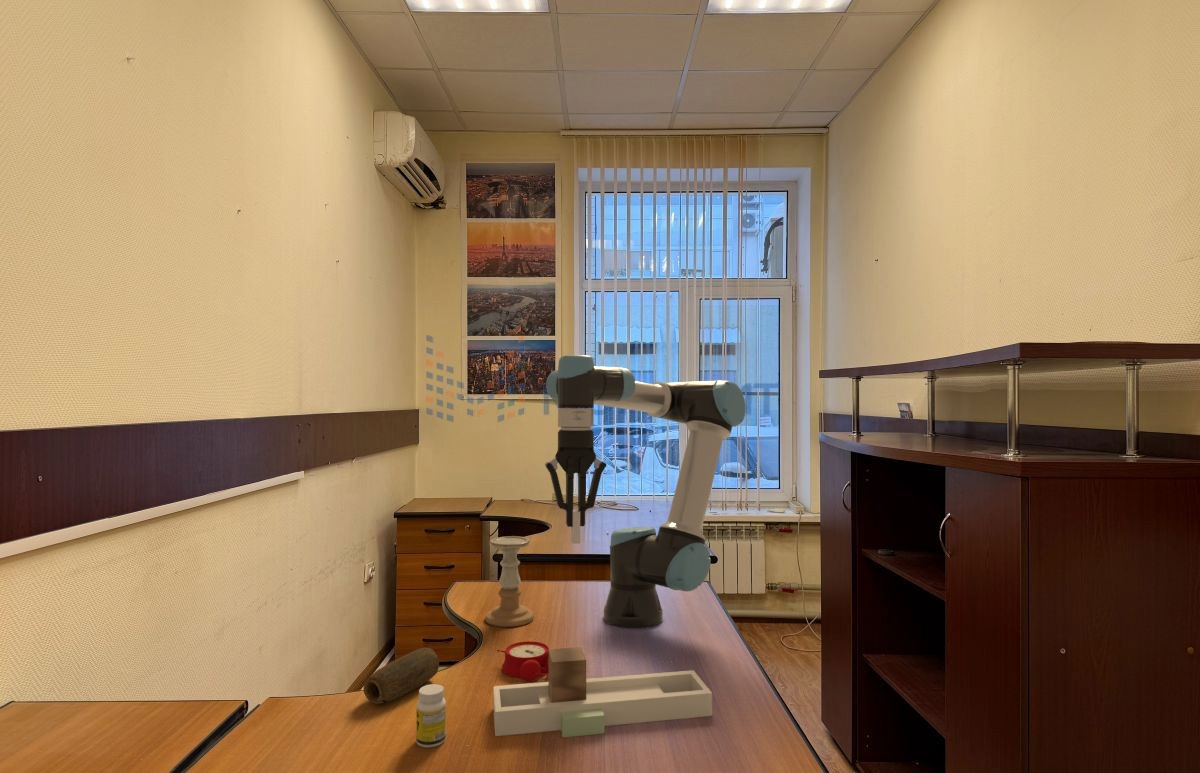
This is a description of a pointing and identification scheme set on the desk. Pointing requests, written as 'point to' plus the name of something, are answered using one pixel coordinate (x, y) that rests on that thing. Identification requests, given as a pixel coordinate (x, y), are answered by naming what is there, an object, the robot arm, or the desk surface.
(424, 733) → the supplement bottle
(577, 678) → the walnut block
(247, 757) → the desk surface
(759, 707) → the desk surface
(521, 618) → the candle holder
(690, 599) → the desk surface
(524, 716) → the board
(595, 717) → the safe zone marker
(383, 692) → the hollow wooden log
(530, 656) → the alarm clock
